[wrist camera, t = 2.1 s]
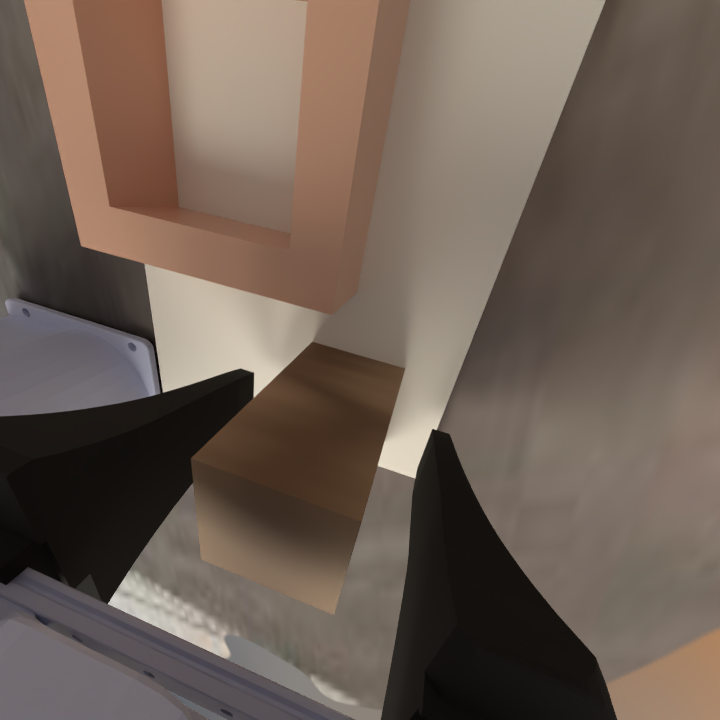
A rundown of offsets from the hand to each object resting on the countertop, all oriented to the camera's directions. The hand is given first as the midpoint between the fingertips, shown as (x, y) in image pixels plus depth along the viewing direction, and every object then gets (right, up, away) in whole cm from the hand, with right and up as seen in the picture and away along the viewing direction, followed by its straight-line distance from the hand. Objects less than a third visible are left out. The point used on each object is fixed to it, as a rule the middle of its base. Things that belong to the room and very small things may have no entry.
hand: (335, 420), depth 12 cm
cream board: (-1, +6, +1) cm, 7 cm away
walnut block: (0, +1, +2) cm, 2 cm away
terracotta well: (-3, +10, -2) cm, 10 cm away
